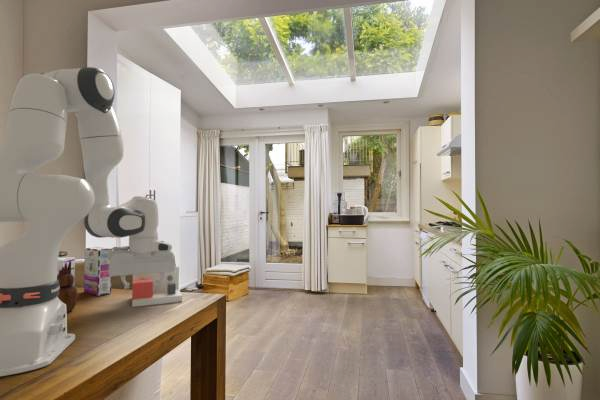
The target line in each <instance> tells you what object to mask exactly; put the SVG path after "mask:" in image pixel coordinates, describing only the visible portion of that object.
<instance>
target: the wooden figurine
mask: <svg viewBox="0 0 600 400" xmlns="http://www.w3.org/2000/svg"><path fill="white" fill-rule="evenodd" d="M57 279H58V280H59V285H60V289H59V295H58V298H59V299H60V301H62V302H63V303H64V304H66V311H67V313H68V312H71V311H74V309H75V307H76V306H77V303H78V296H79V294H78V289H77V287H76V286H75V285H74V286H72V285H73V283H74V276H73V275H72V274H71V261H69V265H68V268H67V263H65V267H62V270H59V274H58V276H57Z"/></svg>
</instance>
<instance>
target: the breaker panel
mask: <svg viewBox="0 0 600 400" xmlns="http://www.w3.org/2000/svg"><path fill="white" fill-rule="evenodd" d="M160 277H161V276H160V273H153V274H139V275H132V282H133V281H135V280H147V279H152V281H153V297H151V298H141V299H131V307H132V308H134V307H142V306H143V307H144V306H154V305H164V304H171V303H180V302H179V301H182V302H183V295H182V292H181V291H180V289H179V288H180V287H179V286H180V285H179V284H180V283H179V281H180V280H179V279H180V266H179V265H176V269H175V271H174V272H167V273H164V277H163V279H162V281H161V286H159V287H156V281H157V280H159V278H160Z"/></svg>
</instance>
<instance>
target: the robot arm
mask: <svg viewBox="0 0 600 400" xmlns="http://www.w3.org/2000/svg"><path fill="white" fill-rule="evenodd" d="M115 96H116V93H115V85H114V83H113V81H112V79H111V78H110V76H109V75H108V74H107V73H106V72H105V71H104V70H103V69H101V68H97V67H90V66H84V67H81V68H79V67H78V68H63V69H57V70H52V71H49V72H46V73H30V74H29V73H28V74H26V75H24V76H22V77H21V78H20V79H19V81H18V83H17V85H16V88H15V89H14V92H13V96H12V98H11V101H10V107H9V112H8V116H7V117H8V118H7V123H6V129H5V134H4V138H3V141H2V144H1V146H0V222H3V223H5V222H6V223H7V222H12V223H15V222H17V223H18V222H19V223H20V222H23V223H24V222H25V223H26V222H27V228H26V229H25V232H24V233H23V234H22V235H21V236H19V237H16V238H14V239H11V240H10V241H8V242H6V243H4V244H2V246H0V377H4V376H5V377H6V376H11V375H16V374H21V373H26V372H30V371H33V370H37V369H40V368H44V367H46V366H48V365H51V364H52V362H54V360H55V361H56V359H57V358H58V356H60V355H61V354H62V353H63V352H64V351H65V350H66V349H67V348H68V347H69V346H70V345H71V344H72V343H73V342H74V341H75V340H76V335H75V333H68V323H67V322H68V321H67V320H68V319H67V317H68V316H67V315H68V314H67V313H68V312H67V311H66V304H64V303H63V302H62V301H60V299H59V298H58V295H59V289H60V285H59V280H58V279H57V267H58V256H59V251H60V249H61V246H62V242H63V241H64V239H65V237H66V235H67V234H68V233H69V231H70V230H71V229H72V227H73V226H75V225H76V224H77V223H78V222H80V221H81V220H83V219H84V221H83V224H84V228H85V229H86V232H87V233H88V234H89V235H91V236H93V237H94V238H98V239H99V238H101V239H102V238H115V239H116V238H119V239H120V238H121V239H122V238H126V237H128V245H126V246H125V245H123V246H113V247H112V248H109V249H110V250H109V251H108V260H109V261H110V263H109V270H108V274H109V275H110V276H111V277H120V280H121V282H122V283H123V286H124V289H123V290H130V285H131V284H130V282H127V281H126V276H133V275H139V274H153V273H160V276H161V277H160V278H159V280H157V281H156V287H159V286H161V281H162V279H163V277H164V273H167V272H174V271H175V269H176V266H177V265H176V257H175V254H174V253H173V251H172V249H173V245H172V244H171V243H170V242H167V241H163V240H159V234H158V226H159V209H158V204H157V202H156V200H155V199H153V198H150V197H145V196H133V197H131V199H129V200H128V201H126V202H124V203H122V204H120V205H119V204H118V205H117V206H111V204H110V197H109V196H110V195H109V187H108V185H109V184H108V179H109V175H110V173H111V172H112V170H113V169H114V168H115V167H117V166H118V165H119V163H120V162H121V161H122V159H123V157H124V153H125V152H124V141H123V137H122V131H121V128H120V124H119V120H118V117H117V114H116V113H115V110H114V108H113V103H114V100H115ZM68 113H74V116H75V117H76V119H77V128H78V135H79V141H80V147H81V150H82V151H81V153H82V161H83V162H82V163H83V166H82V167H83V169H82V170H83V171H82V172H83V178H81V177H75V176H72V175H66V174H57V173H55V174H54V173H53V174H49V173H36V171H37V170H38V169H39V168H41V167H42V166H44V165H45V164H47V163H51V162H54V161H55V160H57V159H59V157H61V155H62V154H63V152H64V150H65V145H66V133H67V124H68Z"/></svg>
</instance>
